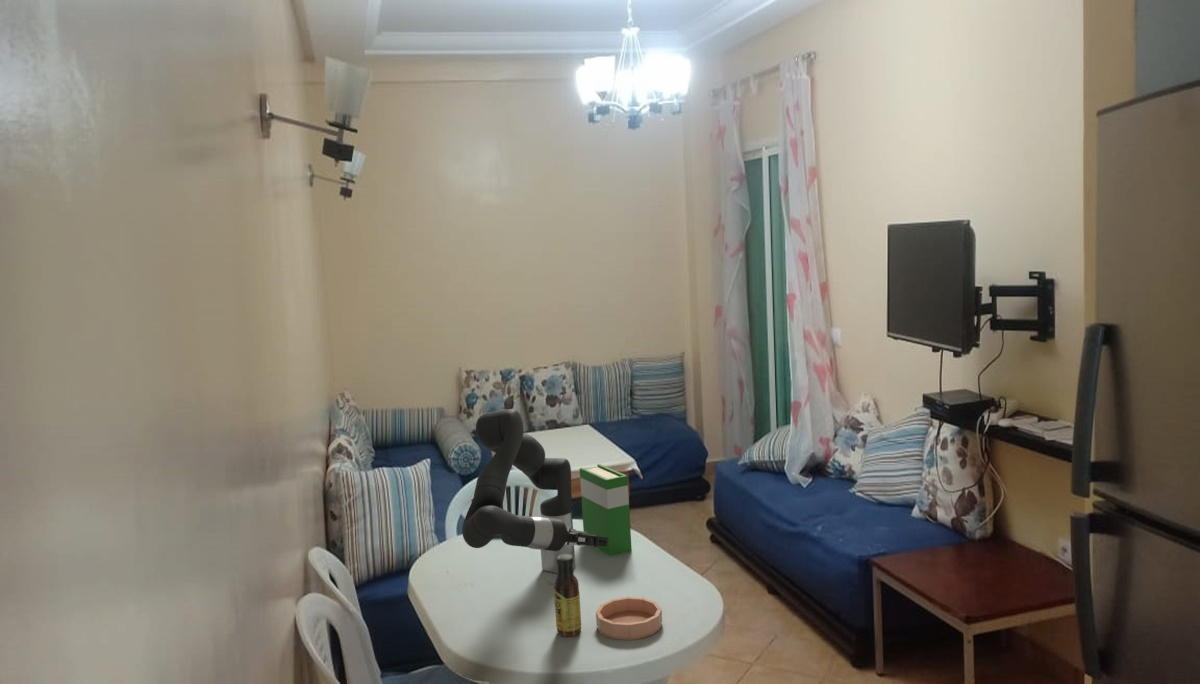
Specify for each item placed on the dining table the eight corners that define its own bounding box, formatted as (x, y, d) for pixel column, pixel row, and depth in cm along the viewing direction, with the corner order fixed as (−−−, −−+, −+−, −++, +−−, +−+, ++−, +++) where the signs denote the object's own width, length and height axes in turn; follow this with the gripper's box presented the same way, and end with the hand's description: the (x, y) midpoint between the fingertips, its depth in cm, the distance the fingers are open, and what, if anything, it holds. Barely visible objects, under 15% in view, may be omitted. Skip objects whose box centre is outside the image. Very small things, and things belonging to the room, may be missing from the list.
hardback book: (584, 540, 290) (579, 468, 287) (604, 535, 294) (599, 464, 291) (610, 556, 275) (606, 480, 272) (631, 551, 278) (627, 475, 275)
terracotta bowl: (590, 637, 221) (589, 622, 221) (607, 610, 236) (606, 595, 236) (653, 642, 217) (653, 626, 216) (667, 614, 232) (666, 599, 231)
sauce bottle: (556, 628, 228) (551, 552, 225) (580, 625, 228) (576, 550, 226) (557, 639, 221) (552, 562, 219) (582, 637, 222) (577, 559, 219)
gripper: (562, 520, 208) (616, 527, 217) (528, 514, 219) (581, 521, 229) (557, 553, 207) (612, 559, 216) (523, 545, 218) (577, 551, 227)
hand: (596, 539), depth 222 cm, fingers open, 8 cm apart
